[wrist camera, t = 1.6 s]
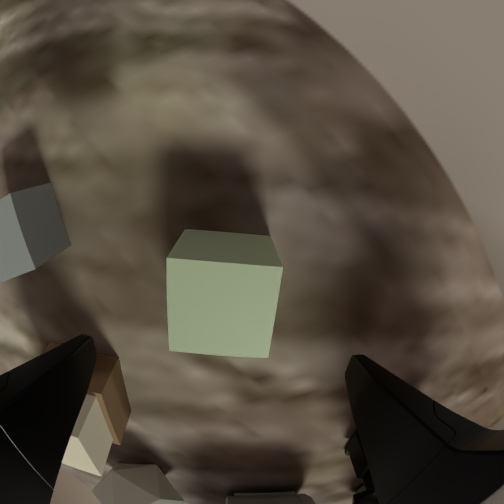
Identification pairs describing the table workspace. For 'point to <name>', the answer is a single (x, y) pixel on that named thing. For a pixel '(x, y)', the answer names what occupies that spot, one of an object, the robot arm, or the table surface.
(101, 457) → the tower top
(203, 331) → the sage cube
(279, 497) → the alarm clock
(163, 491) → the die
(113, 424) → the tower base
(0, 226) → the slate cube
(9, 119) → the table surface
